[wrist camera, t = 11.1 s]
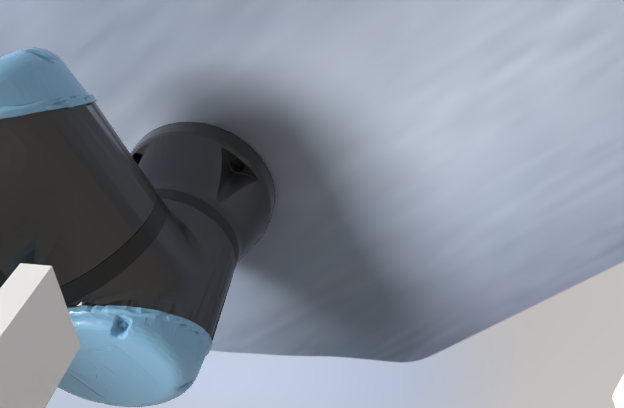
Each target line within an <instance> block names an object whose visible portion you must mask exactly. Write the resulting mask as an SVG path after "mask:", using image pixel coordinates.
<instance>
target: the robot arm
mask: <svg viewBox="0 0 624 408" xmlns="http://www.w3.org/2000/svg"><path fill="white" fill-rule="evenodd" d="M95 102H96V99H95V97H94V96H93V95H90V94H88V93H87V92H86V90H85V89H84V88H83V87H82V86H81V84H80V83H79V82H78V81H77V79H76V78H75V77H74V75H73V74H72V73H71V71H70V70H69V69H68V68H67V66H66V65H65V64H64V62H63V61H62V60H61V59H60V58H59V57H58V56H57V55H55V54H54V53H52V52H50V51H48V50H45V49H42V48H36V47H31V48H24V49H21V50H17V51H15V52H12V53H9V54H7V55H4V56H1V57H0V408H46V406H47V404H48V402H49V401H50V399H51V397H52V395H53V394H54V392H55V390H56V388H57V387H59V388H61V389H63V390H64V391H66V392H68V393H71V394H73V395H76V396H78V397H81V398H84V399H87V400H91V401H94V402H98V403H104V404H109V405H114V406H124V407H142V406H150V405H156V404H161V403H164V402H167V401H170V400H172V399H174V398H176V397H178V396H179V395H181V394H183V393H184V392H185V391H186V390H187V389H188V388H189V387H190V386H191V385H192V384H193V382H194V381H195V379H196V377H197V375H198V373H199V370H200V368H201V365H202V363H203V360H204V358H205V356H206V355H207V354H208V353H209V351H210V350H211V346H212V340H213V337H214V334H215V331H216V328H217V324H218V321H219V318H220V315H221V312H222V308H223V305H224V302H225V299H226V296H227V292H228V289H229V286H230V283H231V280H232V276H233V273H234V270H235V267H236V264H237V262H238V261H239V260H240V259H241V258H242V257H243V256H244V255H245V254H246V253H247V252H248V251H249V250H250V249H251V248H252V246H253V245H255V244H256V243H257V242H258V240H259V239H260V238H261V237H262V235H263V234H264V232H265V230H266V229H267V227H268V224H269V221H270V218H271V214H272V211H273V208H274V201H275V192H274V185H273V181H272V178H271V175H270V173H269V171H268V169H267V167H266V165H265V164H264V162H263V161H262V159H261V158H260V157H259V156H258V154H257V153H256V152H255V151H254V150H253V149H252V148H251V147H250V146H249V145H247V144H246V143H245V142H244V141H242V140H241V139H239V138H238V137H236V136H235V135H233V134H231V133H229V132H227V131H225V130H223V129H220V128H217V127H214V126H211V125H207V124H202V123H195V122H180V123H173V124H168V125H164V126H162V127H159V128H157V129H155V130H153V131H151V132H150V133H148V134H147V135H146V136H144V137H143V138H142V139H141V140H140V141H139V143H138V144H137V145H136V146H135V148H134V149H133V150H132V152H131V153H129V151H128V150H127V148H126V147H125V146H124V144H123V143H122V141H121V140H120V138H119V137H118V135H117V134H116V132H115V131H114V129H113V128H112V127H111V125H110V124H109V122H108V121H107V119H106V118H105V116H104V115H103V113H102V112H101V110H100V109H99V108H98V106H97V105H96V103H95ZM612 399H613V402H614V405H615V407H616V408H624V374H623V376H622V378H621V380H620V382H619V383H618V385H617V387H616V389H615V391H614V393H613V395H612Z"/></svg>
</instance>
